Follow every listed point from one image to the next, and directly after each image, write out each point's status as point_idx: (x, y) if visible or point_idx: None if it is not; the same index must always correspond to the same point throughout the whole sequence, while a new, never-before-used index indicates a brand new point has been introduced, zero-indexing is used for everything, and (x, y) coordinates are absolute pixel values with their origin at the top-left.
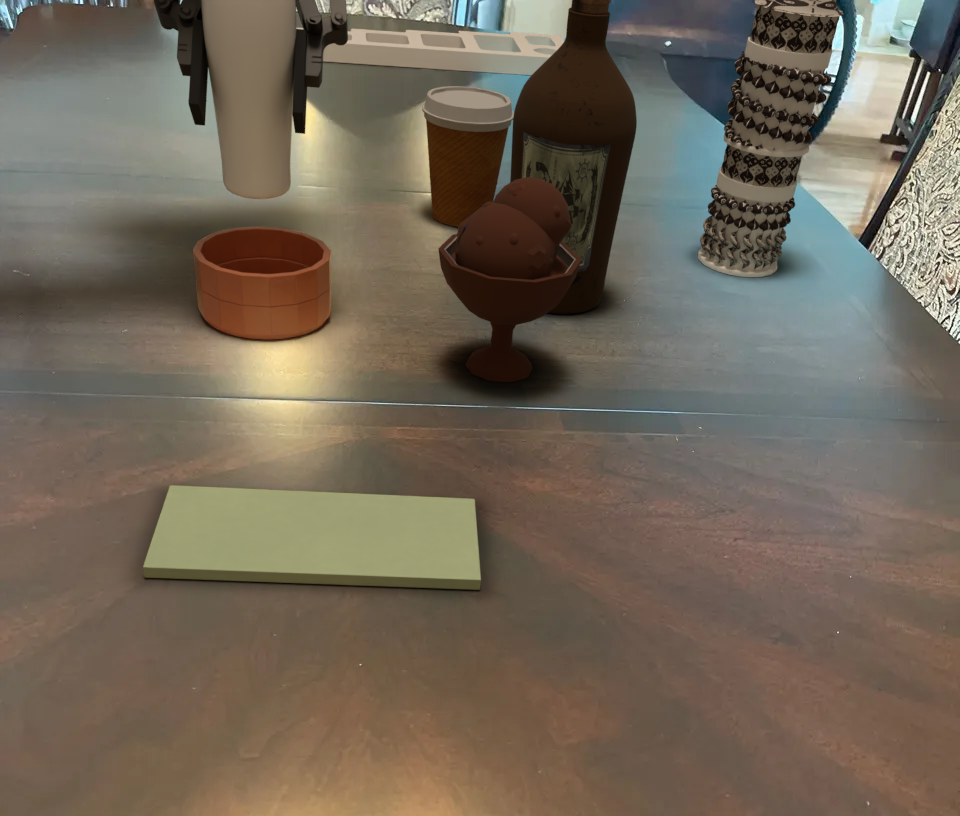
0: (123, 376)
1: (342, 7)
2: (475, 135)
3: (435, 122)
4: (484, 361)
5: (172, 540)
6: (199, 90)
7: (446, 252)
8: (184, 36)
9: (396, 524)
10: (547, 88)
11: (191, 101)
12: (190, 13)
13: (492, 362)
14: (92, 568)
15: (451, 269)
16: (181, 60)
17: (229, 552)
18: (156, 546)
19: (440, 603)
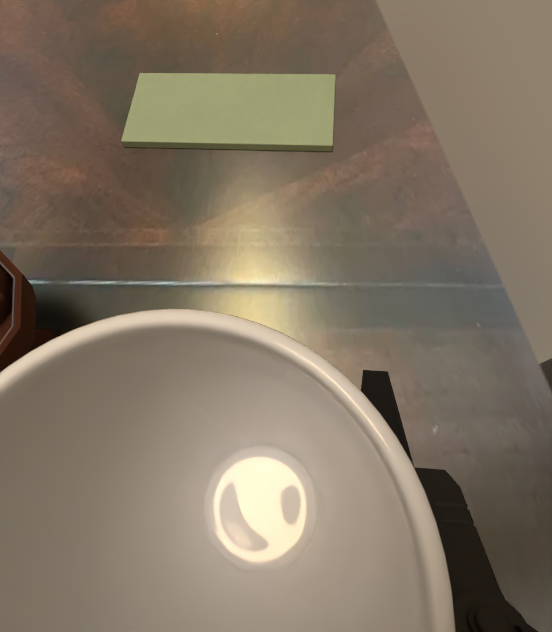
0: (409, 320)
1: None
2: None
3: None
4: (43, 342)
5: (321, 94)
6: (367, 388)
7: (13, 314)
8: (461, 552)
9: (180, 114)
10: None
11: (381, 374)
12: (468, 617)
13: (36, 337)
14: (366, 87)
15: (24, 278)
16: (441, 476)
17: (285, 87)
18: (330, 89)
19: (167, 70)
